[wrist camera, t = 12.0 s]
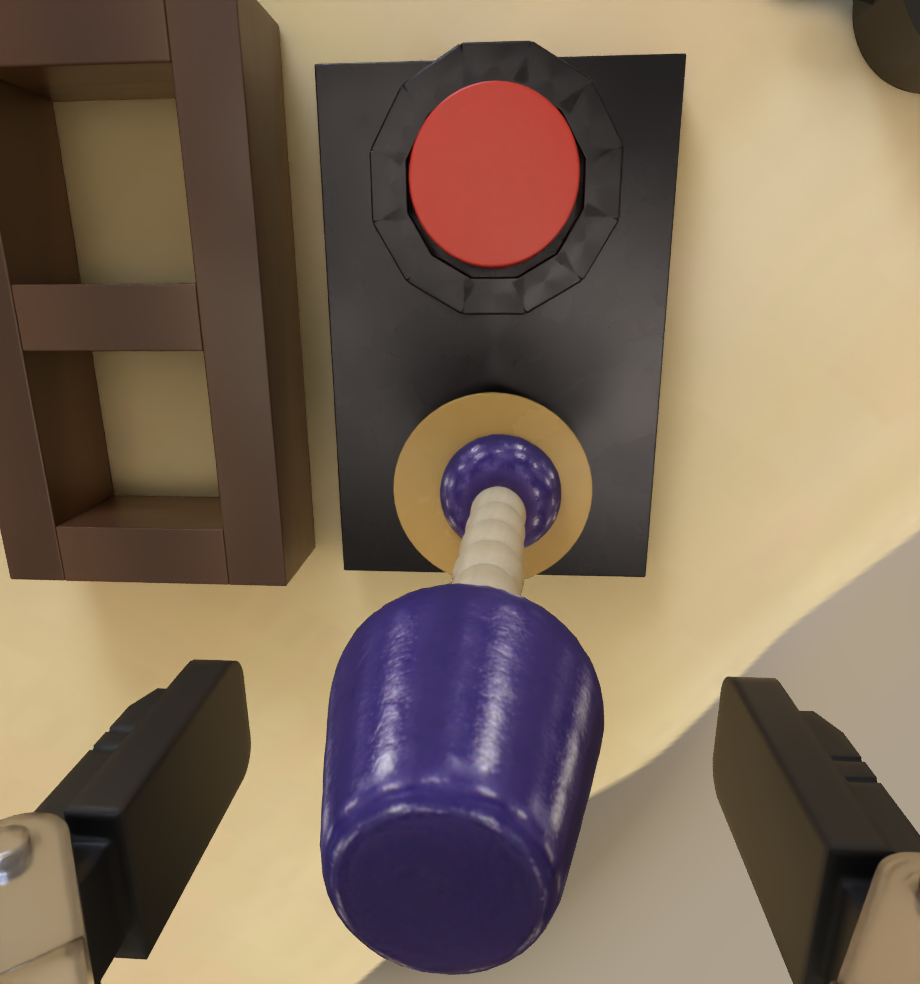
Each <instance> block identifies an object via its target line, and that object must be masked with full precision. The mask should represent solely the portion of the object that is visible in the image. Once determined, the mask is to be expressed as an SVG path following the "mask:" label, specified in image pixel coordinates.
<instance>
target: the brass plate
mask: <svg viewBox="0 0 920 984" xmlns="http://www.w3.org/2000/svg"><path fill="white" fill-rule="evenodd" d="M491 434H505V435H511V436H516V437H520V438H522V439H525V440H527V441H529V442H530V443H532V444H533V445H535V446H537V447H538V448H540V449H541V450H542V451H544V453H545V454H546V455H547V456H548V457H549V458H550V459H551V461H552V462H553V464H554V466H555V468H556V469H557V471H558V474H559V478H560V483H561V504H560V509H559V512H558V515H557V518H556V520H555V521H554V523H553V525H552V526H551V528H550V529H549V530H548V531H547V533H546V534H545V535H544V536H543V537H541V538H540V539H539V540H538V541H537V542H535V543H534V544H532V545H530V546H529V547H526V548H524V549H525V558H524V563H523V567H522V568H523V572H524V579H526V578H529V577H532V576H534V575H536V574H539V573H541V572H542V571H544V570H546V569H548V568H549V567H551V566H552V565H553V564H555V563H556V562H557V561H559V560H560V559H561V558H562V557H563V556H564V555H565V554H566V553H567V552H568V551H569V550H570V549H571V547H572V546H573V545H574V543H575V542H576V541H577V539H578V538H579V536H580V534H581V532H582V531H583V529H584V526H585V524H586V521H587V519H588V515H589V512H590V508H591V501H592V477H591V471H590V466H589V463H588V460H587V457H586V454H585V452H584V450H583V448H582V446H581V443H580V442H579V440H578V439H577V437H576V436H575V434H574V432H573V431H572V430H571V429H570V428H569V427H568V425H567V424H566V423H565V422H564V421H563V420H562V419H561V418H559V417H558V416H557V415H556V414H555V413H554V412H552V411H551V410H549V409H548V408H546V407H545V406H543V405H541V404H539V403H537V402H535V401H533V400H530V399H527V398H525V397H522V396H518V395H513V394H508V393H498V392H487V393H477V394H472V395H466V396H463V397H460V398H457V399H454V400H452V401H450V402H448V403H446V404H444V405H442V406H440V407H439V408H438V409H436V410H435V411H433V412H432V413H430V414H429V415H428V416H427V417H426V418H425V419H423V420H422V421H421V422H420V424H419V425H418V426H417V427H416V428H415V429H414V430H413V432H412V433H411V435H410V436H409V438H408V439H407V441H406V442H405V444H404V446H403V449H402V451H401V453H400V455H399V458H398V462H397V465H396V469H395V475H394V490H393V491H394V501H395V506H396V511H397V515H398V518H399V520H400V523H401V525H402V528H403V529H404V531H405V533H406V535H407V537H408V538H409V540H410V541H411V542H412V544H413V545H414V547H415V548H416V549H417V550H418V551H419V552H420V553H421V554H422V555H423V556H424V557H425V558H426V559H427V560H428V561H430V562H431V563H432V564H433V565H435V566H437V567H438V568H440V569H441V570H443V571H445V572H447V573H449V574H451V575H453V569H454V565H455V562H456V560H457V558H458V556H459V547H460V543H461V540H462V539H461V538H460V537H459V536H458V535H457V534H456V533H455V532H454V530H453V529H452V528H451V526H450V525H449V523H448V521H447V520H446V518H445V515H444V512H443V510H442V506H441V501H440V487H441V481H442V476H443V473H444V471H445V468H446V466H447V464H448V463H449V461H450V459H451V458H452V457H453V455H454V454H455V453H456V452H457V451H458V450H459V449H461V448H462V447H463V446H465V445H466V444H468V443H469V442H471V441H474V440H475V439H477V438H480V437H484V436H488V435H491Z"/></svg>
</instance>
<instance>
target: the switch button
mask: <svg viewBox="0 0 920 984" xmlns="http://www.w3.org/2000/svg"><path fill="white" fill-rule="evenodd" d="M579 180H580V162H579V155H578V150H577V146H576V142H575V139H574V137H573V134H572V132H571V129H570V127H569V126H568V124H567V122H566V120H565V119H564V117H563V116H562V115H561V113H560V112H559V111H558V109H557V108H556V107H555V106H554V105H553V104H552V103H551V102H550V101H549V100H548V99H546V98H545V97H544V96H542V95H541V94H540V93H538V92H536V91H534V90H532V89H530V88H529V87H526V86H523V85H520V84H518V83H513V82H508V81H485V82H480V83H476V84H472V85H469V86H467V87H464V88H462V89H460V90H458V91H456V92H455V93H453V94H451V95H450V96H448V97H447V98H446V99H444V100H443V101H442V102H441V103H440V104H439V105H438V106H437V107H436V108H435V109H434V110H433V111H432V112H431V113H430V115H429V116H428V117H427V119H426V120H425V122H424V123H423V125H422V127H421V129H420V130H419V132H418V135H417V137H416V140H415V142H414V145H413V149H412V152H411V157H410V164H409V189H410V195H411V200H412V204H413V207H414V210H415V213H416V215H417V217H418V219H419V221H420V223H421V225H422V227H423V228H424V230H425V231H426V233H427V234H428V235H429V236H430V238H431V239H432V240H433V241H434V242H435V243H436V244H437V245H438V246H439V247H440V248H441V249H442V250H444V251H445V252H447V253H448V254H449V255H451V256H452V257H454V258H456V259H458V260H460V261H462V262H464V263H466V264H469V265H472V266H475V267H480V268H486V269H501V268H508V267H512V266H516V265H518V264H521V263H524V262H526V261H528V260H530V259H532V258H533V257H535V256H536V255H538V254H539V253H540V252H542V251H543V250H544V249H545V248H546V247H547V246H548V245H549V244H550V243H551V242H552V241H553V240H554V239H555V237H556V236H557V235H558V234H559V233H560V231H561V230H562V228H563V227H564V225H565V224H566V222H567V220H568V218H569V216H570V214H571V212H572V210H573V207H574V204H575V201H576V198H577V193H578V189H579Z"/></svg>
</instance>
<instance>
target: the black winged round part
mask: <svg viewBox="0 0 920 984" xmlns="http://www.w3.org/2000/svg"><path fill="white" fill-rule="evenodd" d="M853 25H854V31H855V36H856V39H857V43H858V45H859V48H860V50H861V52H862V55H863V56H864V58H865V60H866V61H867V63H868V64H869V66H870V67H871V68H872V69H873V70H874V72H875V73H876V74H877V75H879V76H880V77H881V78H882V79H883V80H885V81H886V82H888V83H889V84H891V85H893V86H895V87H897V88H899V89H902V90H905V91H909V92H913V93H920V0H853Z"/></svg>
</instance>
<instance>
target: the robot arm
mask: <svg viewBox="0 0 920 984" xmlns="http://www.w3.org/2000/svg"><path fill="white" fill-rule="evenodd" d="M250 749H251V738H250V729H249V720H248V711H247V702H246V693H245V684H244V675H243V670H242V667H241V665H240V663H239V662H238V661H225V660H192V661H190V662H189V663H188V664H187V665H186V666H185V668H184V669H183V670H182V671H181V672H180V673H179V675H178V676H177V677H176V678H175V679H174V681H173V682H172V683H171V684H170V685H169V686H168V688H167V689H159V688H157V689H156V690H154V691H153V692H151V693H149V694H148V695H146V696H145V697H143V698H141V699H140V700H138V701H137V702H135V703H134V704H132V705H130V706H129V707H128V708H127V709H126V710H125V711H124V712H123V714H122V715H121V716H120V717H119V718H118V719H117V720H116V721H115V722H114V724H113V725H112V726H111V727H110V731H109V732H105V734H104V735H103V736H102V737H101V738H100V739H99V740H98V741H97V742H96V744H95V745H94V748H93V750H89V751H88V752H87V754H86V755H85V756H84V757H83V758H82V759H81V760H80V761H79V762H78V764H77V765H76V766H75V767H74V768H73V769H72V770H71V771H70V772H69V774H68V775H67V776H66V777H65V778H64V779H63V780H62V781H61V782H60V784H59V785H58V786H57V787H56V788H55V789H54V790H53V791H52V792H51V794H50V795H49V796H48V797H47V798H46V799H45V800H44V801H43V802H42V804H41V805H40V806H39V807H38V808H37V809H36V810H35V811H34V812H32V813H24V814H19V815H14V816H11V817H8V818H4V819H2V820H0V984H102V983H101V979H102V977H103V976H104V974H105V972H106V970H107V969H108V967H109V965H110V964H111V962H112V960H113V958H114V957H115V958H131V959H147V958H148V956H149V954H150V952H151V951H152V949H153V947H154V945H155V943H156V941H157V939H158V938H159V936H160V934H161V932H162V930H163V928H164V926H165V924H166V923H167V921H168V919H169V917H170V915H171V913H172V911H173V909H174V908H175V906H176V904H177V902H178V900H179V898H180V896H181V895H182V893H183V891H184V889H185V887H186V885H187V883H188V881H189V880H190V878H191V876H192V874H193V872H194V870H195V868H196V867H197V865H198V863H199V861H200V859H201V857H202V855H203V853H204V852H205V850H206V848H207V846H208V844H209V842H210V840H211V839H212V837H213V835H214V833H215V831H216V829H217V827H218V825H219V824H220V822H221V820H222V818H223V816H224V814H225V812H226V811H227V809H228V807H229V805H230V803H231V801H232V799H233V797H234V796H235V794H236V792H237V790H238V788H239V786H240V784H241V783H242V781H243V779H244V776H245V774H246V771H247V767H248V763H249V758H250ZM713 778H714V784H715V790H716V794H717V798H718V800H719V803H720V805H721V808H722V810H723V813H724V815H725V818H726V820H727V823H728V825H729V827H730V830H731V832H732V834H733V837H734V840H735V842H736V845H737V847H738V850H739V852H740V854H741V857H742V859H743V862H744V864H745V867H746V869H747V872H748V874H749V876H750V879H751V881H752V884H753V886H754V889H755V891H756V894H757V896H758V898H759V901H760V903H761V906H762V908H763V911H764V913H765V916H766V918H767V921H768V923H769V925H770V928H771V930H772V933H773V935H774V938H775V940H776V943H777V945H778V947H779V950H780V952H781V955H782V957H783V960H784V962H785V965H786V967H787V969H788V972H789V974H790V977H791V979H792V982H793V984H920V835H919V834H918V832H917V831H916V830H915V828H914V827H913V826H912V824H911V823H910V822H909V820H908V819H907V818H906V816H905V815H904V814H903V812H902V811H901V810H900V808H899V807H898V806H897V804H896V803H895V802H894V800H893V799H892V798H891V796H890V795H889V794H888V792H887V791H886V790H885V788H884V787H883V786H882V784H881V783H877V778H876V776H875V775H874V774H873V772H872V771H871V770H870V768H869V767H868V765H867V764H866V763H865V762H862V761H861V756H860V755H859V753H858V752H857V751H856V750H855V748H854V747H853V745H852V744H851V743H850V741H849V740H848V739H847V738H846V736H845V735H844V733H843V732H841V731H840V730H839V729H837V728H836V727H834V726H833V725H832V724H830V723H829V722H827V721H826V720H825V719H823V718H822V717H821V716H819V715H818V714H816V713H815V712H814V711H799V710H798V708H797V707H796V706H795V704H794V703H793V701H792V700H791V698H790V697H789V695H788V694H787V693H786V691H785V689H784V688H783V687H782V685H781V684H780V682H779V681H778V680H776V679H775V678H753V677H726V678H725V679H724V681H723V684H722V687H721V694H720V703H719V711H718V720H717V728H716V737H715V745H714V753H713Z"/></svg>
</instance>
